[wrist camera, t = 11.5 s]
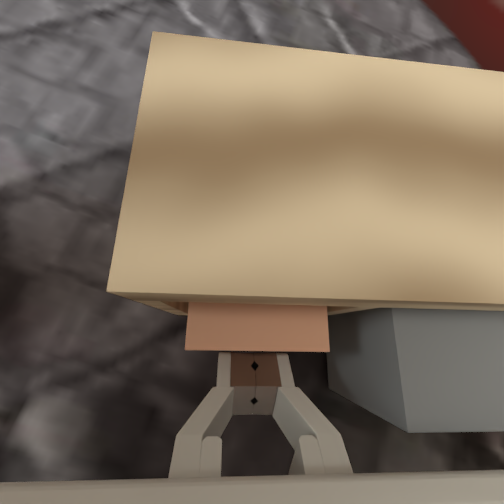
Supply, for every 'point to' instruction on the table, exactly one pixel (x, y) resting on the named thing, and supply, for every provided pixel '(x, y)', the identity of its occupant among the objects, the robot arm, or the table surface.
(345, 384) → the slate key
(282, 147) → the key console
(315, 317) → the terracotta key
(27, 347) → the table surface
